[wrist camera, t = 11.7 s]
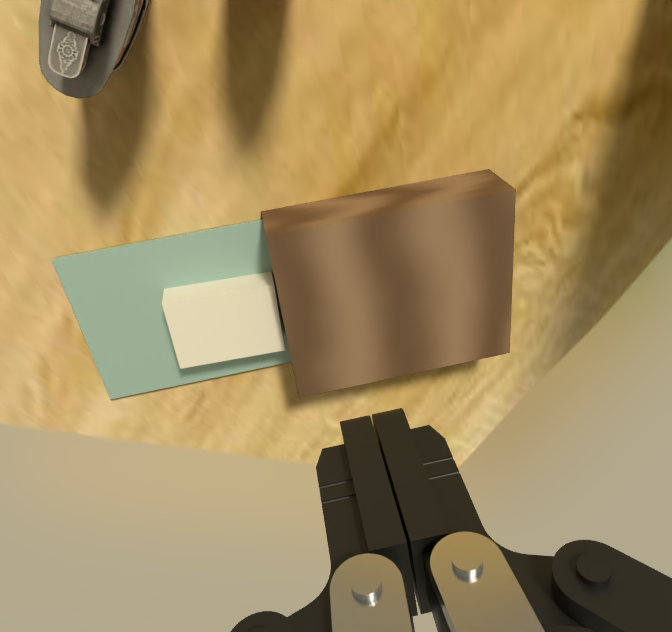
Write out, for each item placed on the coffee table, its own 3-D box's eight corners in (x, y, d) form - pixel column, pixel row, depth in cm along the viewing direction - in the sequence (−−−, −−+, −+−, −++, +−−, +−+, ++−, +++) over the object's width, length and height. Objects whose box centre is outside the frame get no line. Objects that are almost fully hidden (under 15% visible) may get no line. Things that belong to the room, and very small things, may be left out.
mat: (262, 219, 38) (263, 221, 37) (291, 358, 43) (291, 361, 43) (53, 258, 37) (52, 260, 36) (111, 396, 42) (110, 399, 42)
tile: (271, 271, 39) (274, 285, 38) (281, 334, 42) (284, 350, 40) (164, 288, 38) (161, 304, 37) (181, 351, 41) (180, 368, 39)
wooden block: (489, 169, 39) (515, 189, 35) (487, 323, 45) (509, 352, 42) (261, 211, 37) (266, 236, 34) (292, 364, 44) (299, 397, 40)
